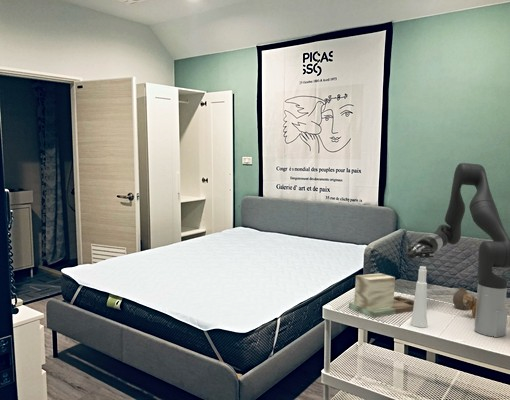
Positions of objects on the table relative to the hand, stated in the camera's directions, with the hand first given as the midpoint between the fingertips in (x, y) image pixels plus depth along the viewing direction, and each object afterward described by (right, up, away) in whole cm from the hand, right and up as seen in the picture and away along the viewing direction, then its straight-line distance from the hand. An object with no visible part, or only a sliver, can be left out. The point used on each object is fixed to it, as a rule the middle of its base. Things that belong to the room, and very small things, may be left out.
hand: (409, 256), depth 182 cm
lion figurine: (+26, -24, -7) cm, 36 cm away
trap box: (-9, -22, +2) cm, 24 cm away
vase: (+25, -24, +8) cm, 35 cm away
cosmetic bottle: (-3, -24, -18) cm, 30 cm away
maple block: (-15, -20, -2) cm, 25 cm away
